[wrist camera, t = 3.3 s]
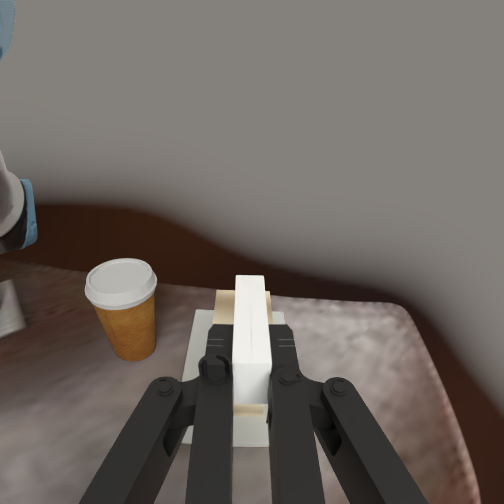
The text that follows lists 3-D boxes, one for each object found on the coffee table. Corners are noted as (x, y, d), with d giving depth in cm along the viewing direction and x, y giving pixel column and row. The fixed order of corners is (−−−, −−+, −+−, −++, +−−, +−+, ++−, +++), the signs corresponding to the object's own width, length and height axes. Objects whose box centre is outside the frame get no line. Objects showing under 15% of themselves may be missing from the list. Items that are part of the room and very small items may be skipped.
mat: (302, 445, 28) (303, 443, 28) (171, 442, 28) (171, 440, 28) (282, 313, 50) (283, 311, 49) (196, 311, 49) (196, 309, 49)
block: (262, 416, 31) (273, 325, 25) (218, 416, 31) (212, 323, 25) (261, 384, 36) (269, 291, 30) (220, 383, 36) (216, 290, 29)
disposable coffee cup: (142, 317, 47) (130, 250, 41) (180, 346, 42) (171, 274, 36) (93, 344, 40) (71, 274, 35) (126, 381, 35) (103, 307, 29)
